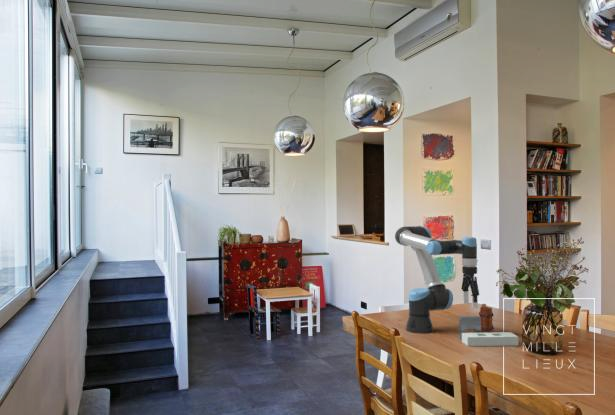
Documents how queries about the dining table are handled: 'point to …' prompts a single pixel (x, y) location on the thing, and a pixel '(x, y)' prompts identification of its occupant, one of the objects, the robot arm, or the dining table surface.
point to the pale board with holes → (490, 339)
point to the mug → (486, 319)
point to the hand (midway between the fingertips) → (470, 306)
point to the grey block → (469, 324)
